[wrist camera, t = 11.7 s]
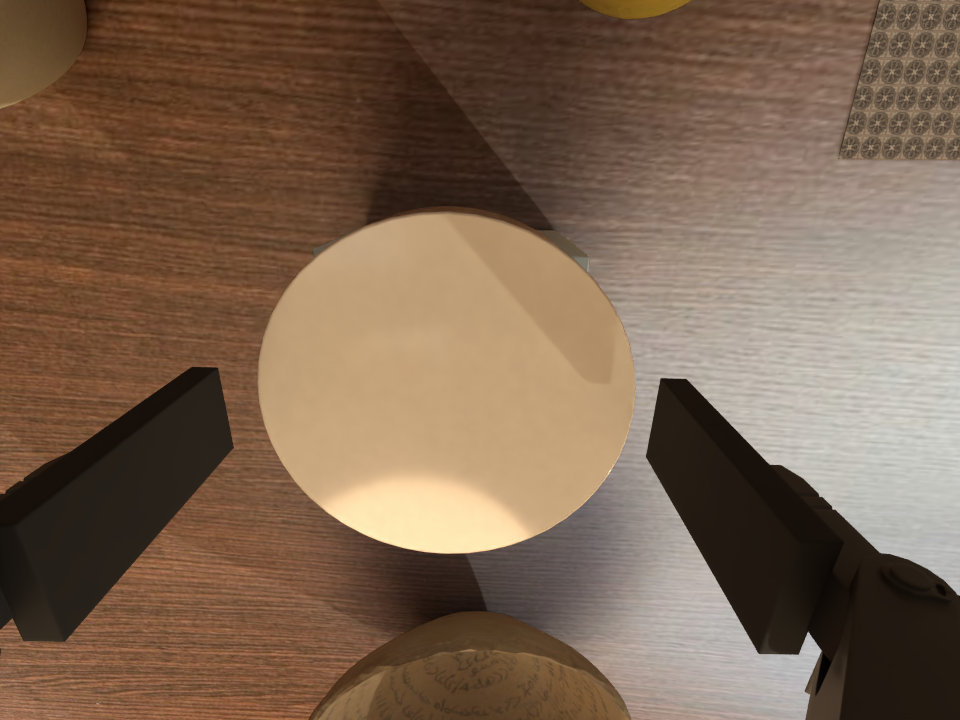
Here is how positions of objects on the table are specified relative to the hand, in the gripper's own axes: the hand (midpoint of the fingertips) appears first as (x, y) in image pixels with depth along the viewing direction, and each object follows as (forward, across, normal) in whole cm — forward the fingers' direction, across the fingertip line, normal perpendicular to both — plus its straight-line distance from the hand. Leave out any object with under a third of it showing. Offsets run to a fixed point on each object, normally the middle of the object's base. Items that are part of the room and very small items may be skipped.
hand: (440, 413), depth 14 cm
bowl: (+11, +1, -23) cm, 26 cm away
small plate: (+3, 0, 0) cm, 3 cm away
